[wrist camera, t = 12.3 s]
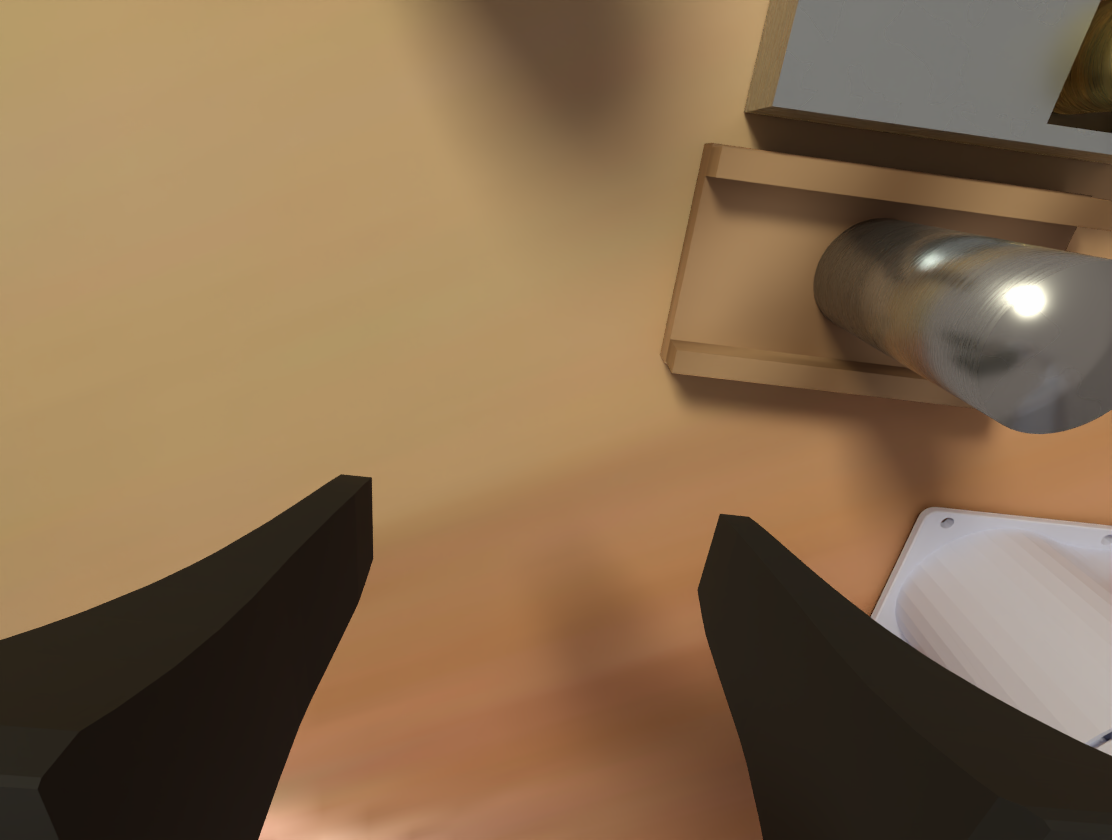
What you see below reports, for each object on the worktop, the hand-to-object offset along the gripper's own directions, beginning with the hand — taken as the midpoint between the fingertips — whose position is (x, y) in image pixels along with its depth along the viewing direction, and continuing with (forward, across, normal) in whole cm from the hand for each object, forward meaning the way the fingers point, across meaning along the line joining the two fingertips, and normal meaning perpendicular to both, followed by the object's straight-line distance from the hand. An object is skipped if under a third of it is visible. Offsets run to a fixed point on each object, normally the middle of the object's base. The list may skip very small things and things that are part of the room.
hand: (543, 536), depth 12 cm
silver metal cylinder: (+9, -10, -5) cm, 14 cm away
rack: (+10, -10, -4) cm, 15 cm away
